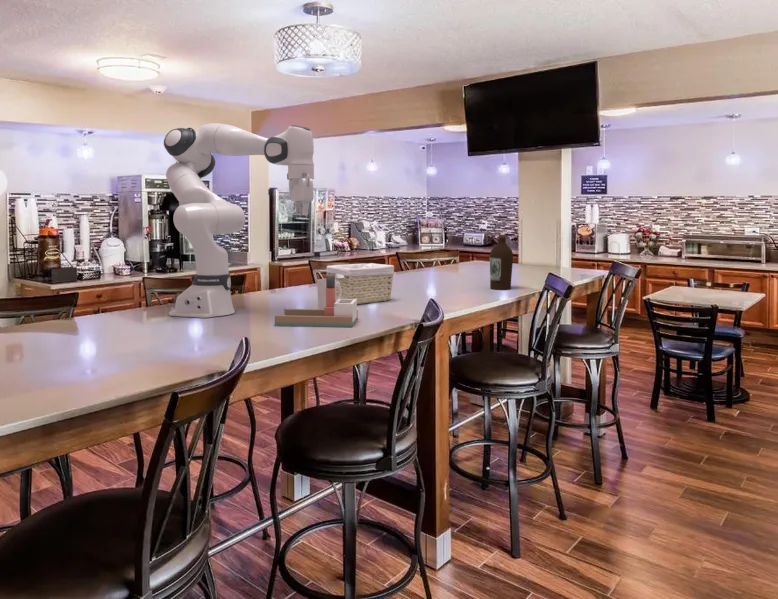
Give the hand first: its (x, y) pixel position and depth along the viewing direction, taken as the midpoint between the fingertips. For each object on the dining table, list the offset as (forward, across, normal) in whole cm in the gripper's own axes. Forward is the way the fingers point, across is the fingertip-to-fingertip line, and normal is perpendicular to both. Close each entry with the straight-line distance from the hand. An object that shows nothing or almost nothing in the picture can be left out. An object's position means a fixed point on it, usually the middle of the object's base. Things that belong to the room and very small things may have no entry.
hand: (301, 214), depth 217 cm
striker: (+33, -19, -4) cm, 39 cm away
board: (+35, -17, 0) cm, 39 cm away
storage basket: (+35, +21, -28) cm, 50 cm away
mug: (+35, 0, -10) cm, 37 cm away
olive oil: (+35, +34, -101) cm, 112 cm away
